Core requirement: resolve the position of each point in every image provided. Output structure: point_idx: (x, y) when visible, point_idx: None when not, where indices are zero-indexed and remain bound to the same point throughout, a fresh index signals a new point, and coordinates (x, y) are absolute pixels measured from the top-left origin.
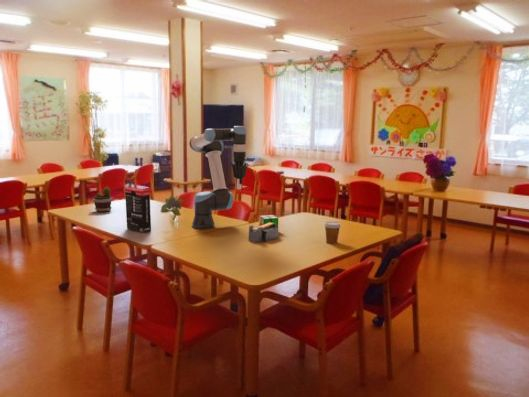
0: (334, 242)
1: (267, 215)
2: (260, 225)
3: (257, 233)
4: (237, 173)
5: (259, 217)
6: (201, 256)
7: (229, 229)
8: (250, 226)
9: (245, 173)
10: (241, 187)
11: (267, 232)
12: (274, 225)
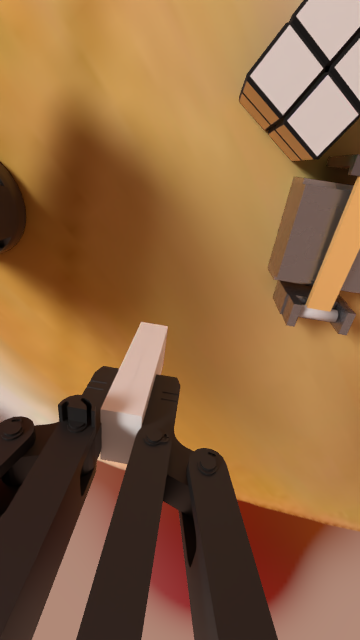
0: None
1: (302, 19)
2: (260, 116)
3: (329, 321)
4: (63, 554)
5: (249, 87)
6: None
7: (101, 181)
8: (294, 324)
9: (249, 565)
10: (165, 337)
11: None
12: None
